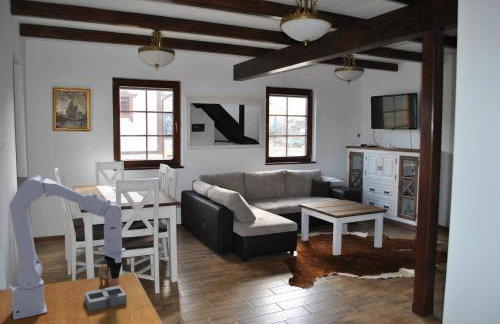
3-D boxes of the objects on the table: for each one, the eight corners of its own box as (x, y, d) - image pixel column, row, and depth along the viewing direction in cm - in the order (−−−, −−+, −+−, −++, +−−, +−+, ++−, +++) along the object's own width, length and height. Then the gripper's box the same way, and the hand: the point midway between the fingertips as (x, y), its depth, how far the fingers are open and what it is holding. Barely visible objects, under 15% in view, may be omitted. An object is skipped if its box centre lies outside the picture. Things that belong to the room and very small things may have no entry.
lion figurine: (111, 290, 152) (110, 266, 151) (96, 290, 151) (95, 267, 150) (118, 274, 167) (117, 253, 166) (104, 275, 166) (103, 253, 165)
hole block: (89, 311, 136) (89, 302, 135) (84, 300, 143) (84, 292, 143) (126, 303, 142) (126, 294, 141) (119, 293, 149) (119, 285, 149)
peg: (110, 287, 141) (110, 264, 140) (108, 283, 144) (108, 261, 143) (119, 285, 143) (119, 262, 142) (117, 282, 145) (116, 260, 145)
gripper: (130, 242, 137) (131, 281, 139) (119, 231, 150) (120, 267, 151) (108, 245, 134) (109, 285, 135) (99, 234, 146) (100, 271, 148)
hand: (114, 276), depth 143 cm, fingers closed on peg, 3 cm apart
